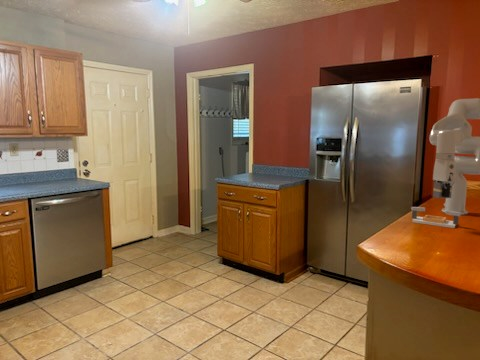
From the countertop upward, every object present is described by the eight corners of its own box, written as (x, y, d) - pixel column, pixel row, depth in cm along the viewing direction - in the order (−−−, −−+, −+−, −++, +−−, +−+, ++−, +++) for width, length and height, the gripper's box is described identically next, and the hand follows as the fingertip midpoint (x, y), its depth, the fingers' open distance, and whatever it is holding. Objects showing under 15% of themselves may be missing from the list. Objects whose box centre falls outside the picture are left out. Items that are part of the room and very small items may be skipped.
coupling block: (432, 196, 169) (433, 181, 168) (444, 196, 170) (445, 181, 169) (438, 198, 165) (440, 183, 164) (451, 198, 165) (452, 183, 164)
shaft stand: (408, 221, 177) (409, 208, 177) (412, 218, 185) (413, 205, 184) (458, 228, 165) (459, 214, 164) (460, 224, 173) (461, 210, 172)
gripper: (465, 158, 157) (462, 199, 159) (440, 155, 173) (437, 192, 176) (449, 158, 156) (446, 199, 158) (426, 155, 173) (423, 192, 175)
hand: (442, 195), depth 167 cm, fingers closed on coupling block, 4 cm apart
